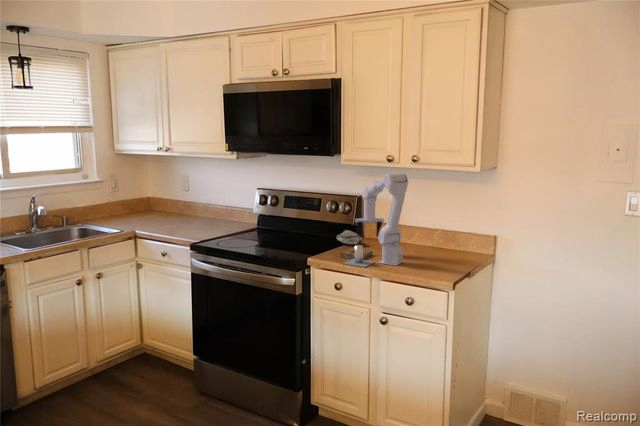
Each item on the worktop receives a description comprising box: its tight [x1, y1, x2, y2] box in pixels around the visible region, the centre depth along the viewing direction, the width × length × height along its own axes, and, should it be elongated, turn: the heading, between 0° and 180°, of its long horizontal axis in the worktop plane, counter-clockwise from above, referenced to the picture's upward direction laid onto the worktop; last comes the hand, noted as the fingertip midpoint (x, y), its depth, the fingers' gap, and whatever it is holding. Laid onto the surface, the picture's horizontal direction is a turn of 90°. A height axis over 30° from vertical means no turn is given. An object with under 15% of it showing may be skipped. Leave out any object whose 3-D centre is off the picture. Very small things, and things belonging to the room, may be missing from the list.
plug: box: [354, 244, 364, 263], centre depth 247 cm, size 4×4×8 cm
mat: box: [342, 259, 375, 268], centre depth 247 cm, size 12×10×1 cm
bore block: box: [339, 247, 373, 260], centre depth 261 cm, size 12×12×2 cm
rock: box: [335, 229, 364, 246], centre depth 288 cm, size 18×10×10 cm
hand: (369, 236), depth 263 cm, fingers open, 7 cm apart
